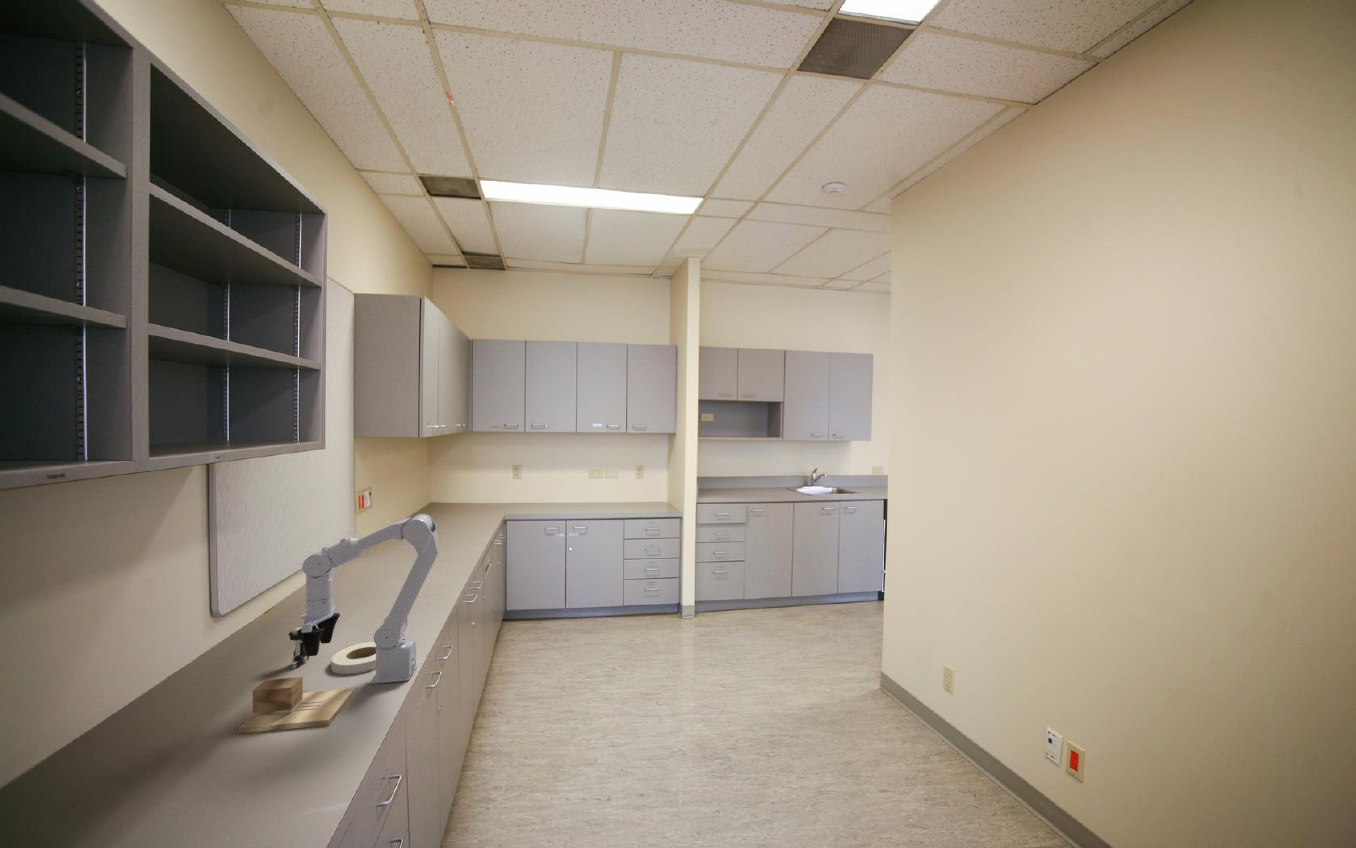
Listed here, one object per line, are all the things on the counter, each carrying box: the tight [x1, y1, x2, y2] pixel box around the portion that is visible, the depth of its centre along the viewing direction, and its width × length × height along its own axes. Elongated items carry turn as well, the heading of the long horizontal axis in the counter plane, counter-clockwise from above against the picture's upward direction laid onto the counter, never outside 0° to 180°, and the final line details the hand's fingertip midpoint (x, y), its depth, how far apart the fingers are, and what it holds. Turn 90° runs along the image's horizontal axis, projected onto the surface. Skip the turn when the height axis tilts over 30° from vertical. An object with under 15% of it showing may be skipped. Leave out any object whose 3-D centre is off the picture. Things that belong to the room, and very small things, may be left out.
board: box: [238, 688, 355, 734], centre depth 124 cm, size 18×14×1 cm
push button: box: [288, 625, 310, 669], centre depth 148 cm, size 7×5×10 cm
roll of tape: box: [330, 641, 376, 675], centre depth 151 cm, size 16×15×3 cm
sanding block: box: [252, 676, 304, 717], centre depth 123 cm, size 8×5×6 cm, turn 101°
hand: (319, 649), depth 137 cm, fingers open, 7 cm apart
